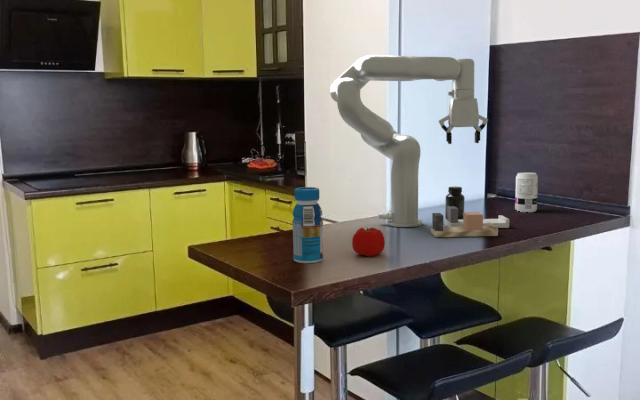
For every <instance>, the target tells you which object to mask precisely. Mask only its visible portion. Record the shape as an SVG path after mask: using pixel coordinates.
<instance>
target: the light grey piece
mask: <svg viewBox="0 0 640 400" xmlns="http://www.w3.org/2000/svg"><path fill="white" fill-rule="evenodd" d="M488 222H491V223H492V224H494V225H496V226H497V227H498V229H504V228H505V229H508V228H509V229H510V219H509V218H508V217H506V216H504V215H499V214H498V218H483V226H487V223H488ZM445 226H446V227H463V220H458V208H456V207H455V206H447V220H446V219H445Z"/></svg>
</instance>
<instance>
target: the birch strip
mask: <svg viewBox="0 0 640 400" xmlns="http://www.w3.org/2000/svg"><path fill="white" fill-rule="evenodd" d="M431 221H432V222H431V223H432V224H431V225H432V226H431V227H430V233H431V234H432V235H433V236H434V237H435V238H455V237H456V238H457V237H458V238H459V237H460V238H461V237H463V238H464V237H465V238H467V237H498V236H499V228H498V227H497V226H496V225H494V224H492V223H491V222H488V223H487V226H483V230H466V229H465V228H463V227H448V226H444V215H443V214H442V213H440V212H432V220H431Z"/></svg>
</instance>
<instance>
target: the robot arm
mask: <svg viewBox="0 0 640 400" xmlns="http://www.w3.org/2000/svg"><path fill="white" fill-rule="evenodd" d="M420 80H435V81H437V82H444V81H451V80H452V81H451V83H452V84H451V87H452V89H451V91H448V93H447V94H448V95H447V96H449V97H451V99H449V106H448V115H445V117H442V118H441V119H439V120H438V124H439V125H440V127H441V129H442V130H443V131H444V132H445V134H446V136H445V139H446V142H447V144H448V145H452V141H453V138H452V137H453V135H452V130H453V129H454V128H471V127H472V128H473V129H475V132H474V143H476V144H479V143H480V141H481V132H482V130H483V129H484V128H485V127H486V126H487V123H488V121H489V118H487V117H485V116H482V115H480V114H479V113H480V112H479V105H478V98H475V61H474V60H473V58H458V59H456V58H454V57H451V56H447V57H446V56H417V55H416V56H414V55H413V56H411V55H382V54H379V55H378V54H370V55H365V56H363V57H360V58H358V59H357V60H356V61H354V63H353V64H351V66H349V68H347V69H346V70H345V71H343V73H341V75H339V77H337V79H335V80H334V81H333V82H332V83H331V86H330V89H329V94H330V98H331V99H332V100H333V101H334V102H336V104H337V110H338V113H339V115H340V116H341V119H342V120H343V121H344V123H346V124H347V125H348V126H349V127H350V128H352V129H354V131H356V132H357V133H359V134H360V137H361V138H362V141H364V143H366V144H367V145H368V146H370V147H371V148H372V149H374V150H376V151H377V152H379V153H380V154H382V155H384V157H387V158H388V159H390V160H392V163H391V170H390V184H391V185H390V187H391V188H390V197H391V199H390V210H388V212H386V213H377V219H378V220H386V225H387V226H390V227H394V228H395V227H396V228H414V227H420V226H422V225H423V220H421V219H419V166H420V158H421V146H420V143H419V141H418V140H417V139H416V138H415V137H413V136H411V135H409V134H408V135H407V134H401V133H399V132H397V131H396V130H394V127H393V125H392V124H391V123H390V122H389V121H387V120H386V119H384V118H383V117H381V116H380V115H378V114H376V113H375V112H373V110H370V109H369V108H368V107H367V106H366V105H364V103H363V101H362V98H361V89H363V88H364V87H365V86H366V85H367V84H368V83H369V82H370V81H373V82H374V81H375V82H376V81H377V82H412V81H414V82H415V81H420ZM480 120H481V124H480V125H479V123H480ZM445 122H448V126H446V125H445Z"/></svg>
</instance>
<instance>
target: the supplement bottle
mask: <svg viewBox="0 0 640 400" xmlns="http://www.w3.org/2000/svg"><path fill="white" fill-rule="evenodd" d="M447 189H448V192H447V193H448V194H446V195H445V211H444V213H445V215H444V218H445V221H446V220H447V206H455V207H456V208H458V220H463V213H464V212H465V201H466V200H465V195H463V194H462V193H463V188H462V187H461V186H448V188H447Z"/></svg>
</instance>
